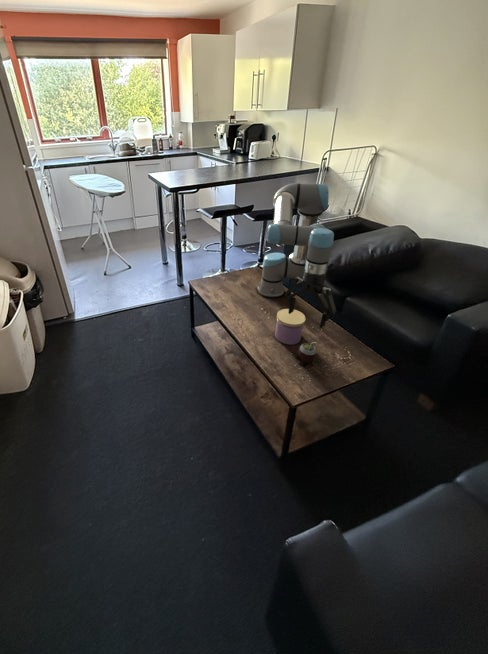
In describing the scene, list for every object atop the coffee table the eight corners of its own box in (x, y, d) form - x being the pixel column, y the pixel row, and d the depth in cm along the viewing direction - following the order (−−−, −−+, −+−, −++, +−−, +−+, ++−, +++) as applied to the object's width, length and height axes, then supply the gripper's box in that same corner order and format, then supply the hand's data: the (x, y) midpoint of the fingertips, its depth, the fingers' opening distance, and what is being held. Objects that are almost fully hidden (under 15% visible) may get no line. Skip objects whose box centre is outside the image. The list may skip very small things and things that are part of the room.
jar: (283, 325, 159) (286, 305, 153) (306, 336, 151) (310, 316, 145) (269, 336, 151) (271, 316, 146) (292, 348, 143) (296, 328, 138)
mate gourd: (302, 353, 140) (307, 326, 133) (319, 362, 135) (325, 334, 128) (293, 361, 136) (298, 334, 128) (310, 371, 131) (316, 343, 123)
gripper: (279, 264, 122) (273, 310, 132) (344, 286, 105) (331, 337, 116) (290, 258, 126) (284, 303, 136) (354, 279, 110) (341, 328, 120)
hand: (306, 319), depth 126 cm, fingers open, 13 cm apart
